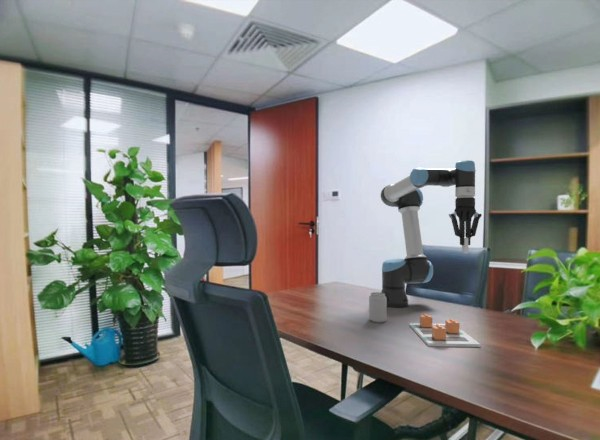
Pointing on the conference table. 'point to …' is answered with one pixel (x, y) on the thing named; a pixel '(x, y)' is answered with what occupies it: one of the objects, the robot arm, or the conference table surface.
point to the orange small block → (425, 320)
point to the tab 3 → (452, 326)
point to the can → (377, 307)
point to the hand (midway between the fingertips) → (465, 252)
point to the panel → (451, 338)
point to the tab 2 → (439, 332)
